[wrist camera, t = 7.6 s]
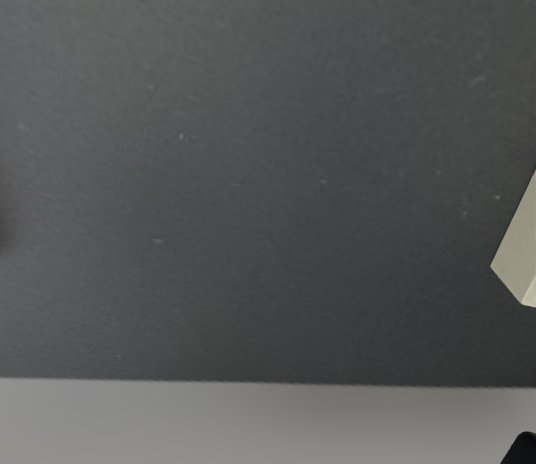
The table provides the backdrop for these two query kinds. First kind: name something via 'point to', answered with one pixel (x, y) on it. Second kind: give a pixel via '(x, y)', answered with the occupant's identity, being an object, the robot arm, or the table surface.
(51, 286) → the table surface
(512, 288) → the tap base
